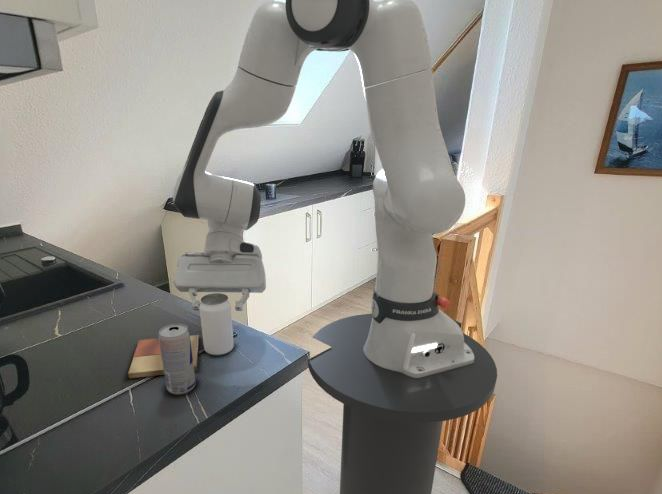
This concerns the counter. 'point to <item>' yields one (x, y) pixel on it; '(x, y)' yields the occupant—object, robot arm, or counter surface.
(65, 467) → the counter surface
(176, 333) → the energy drink
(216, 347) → the can
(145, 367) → the square wooden board
